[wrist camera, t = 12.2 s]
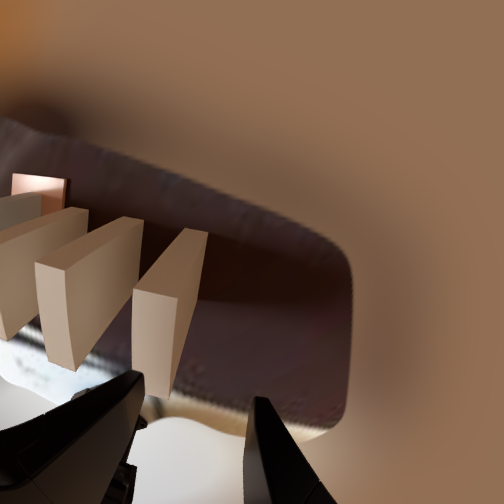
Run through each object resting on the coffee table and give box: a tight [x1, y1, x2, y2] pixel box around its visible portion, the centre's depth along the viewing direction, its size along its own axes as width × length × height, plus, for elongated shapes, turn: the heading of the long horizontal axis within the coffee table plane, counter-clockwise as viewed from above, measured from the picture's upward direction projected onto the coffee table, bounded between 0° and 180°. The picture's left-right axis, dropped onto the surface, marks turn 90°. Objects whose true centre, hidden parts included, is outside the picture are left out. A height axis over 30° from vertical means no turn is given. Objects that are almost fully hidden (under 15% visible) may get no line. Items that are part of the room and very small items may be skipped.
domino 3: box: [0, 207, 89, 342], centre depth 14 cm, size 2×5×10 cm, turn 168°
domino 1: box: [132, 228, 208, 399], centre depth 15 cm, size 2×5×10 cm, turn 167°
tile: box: [12, 173, 67, 216], centre depth 18 cm, size 9×6×1 cm, turn 168°
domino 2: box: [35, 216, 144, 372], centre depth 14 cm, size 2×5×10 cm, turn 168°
